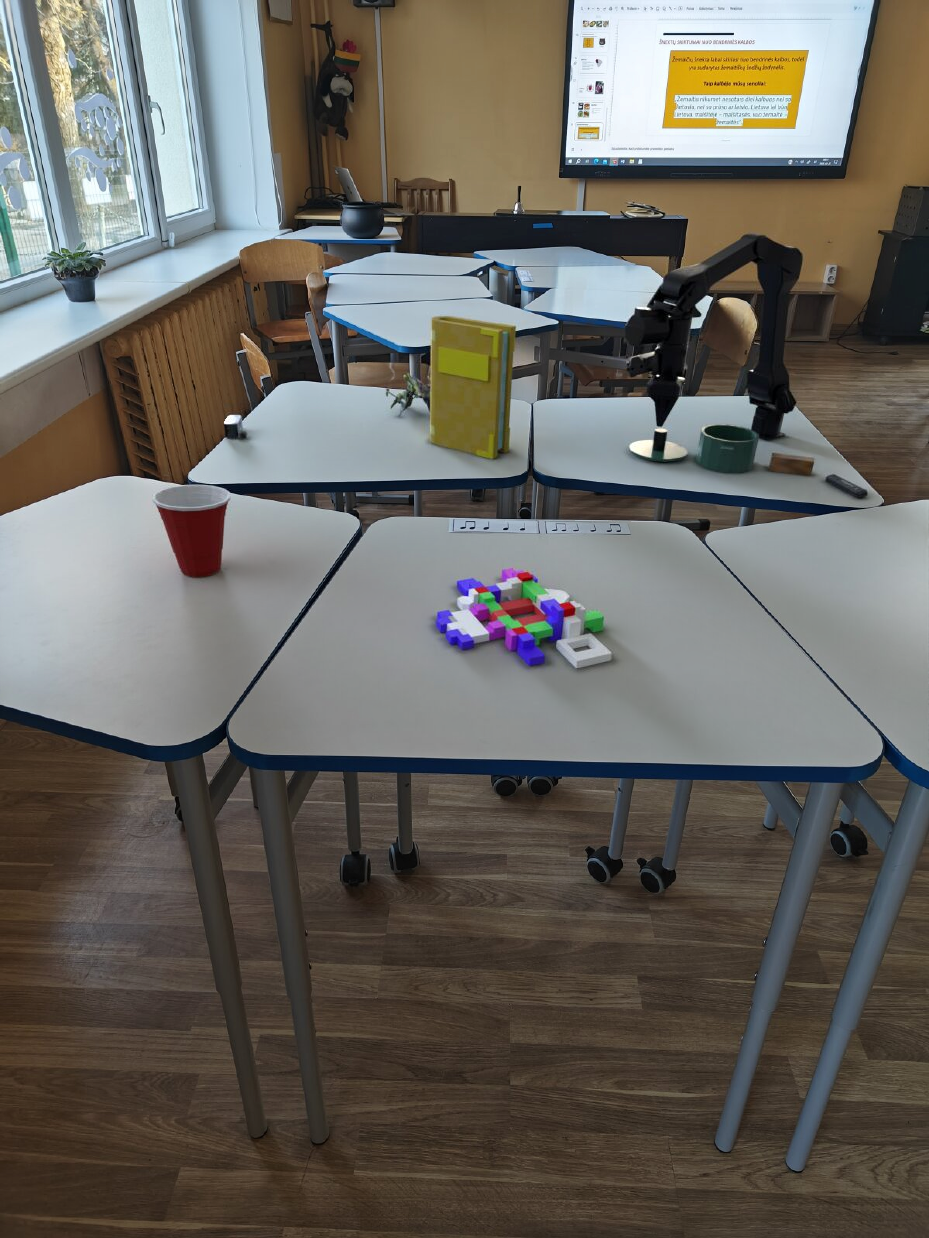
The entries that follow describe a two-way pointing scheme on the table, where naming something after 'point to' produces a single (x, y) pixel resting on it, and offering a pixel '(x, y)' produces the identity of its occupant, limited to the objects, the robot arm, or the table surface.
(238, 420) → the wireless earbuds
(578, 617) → the building block set
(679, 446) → the lid
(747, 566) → the table surface
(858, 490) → the usb stick
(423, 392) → the green spindly figure
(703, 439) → the pot
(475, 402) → the book
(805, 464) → the wooden block
